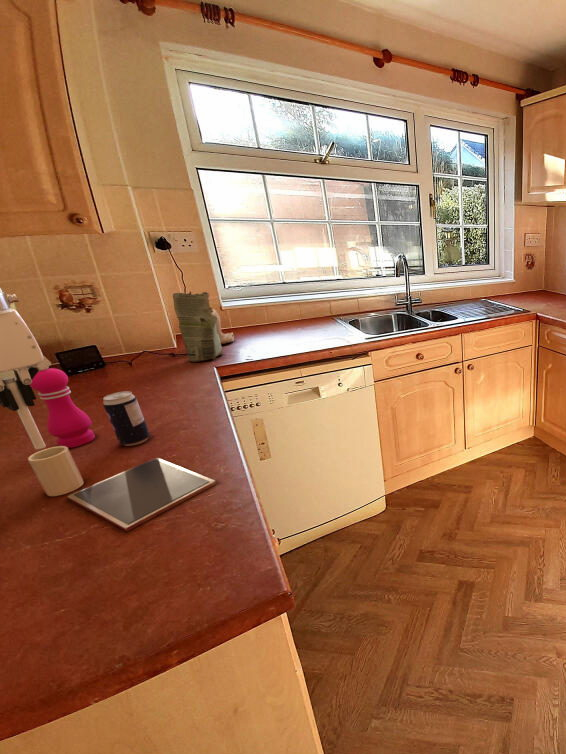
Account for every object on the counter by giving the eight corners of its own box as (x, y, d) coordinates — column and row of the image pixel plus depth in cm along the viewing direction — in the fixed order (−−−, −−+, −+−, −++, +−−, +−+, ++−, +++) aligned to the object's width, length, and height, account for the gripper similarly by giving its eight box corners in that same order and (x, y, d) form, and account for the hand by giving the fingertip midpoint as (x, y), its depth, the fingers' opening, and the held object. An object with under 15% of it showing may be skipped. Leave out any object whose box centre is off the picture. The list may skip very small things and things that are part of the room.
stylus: (37, 450, 79) (3, 380, 74) (33, 448, 79) (0, 379, 74) (47, 446, 80) (15, 377, 75) (44, 445, 81) (11, 376, 75)
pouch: (188, 357, 160) (166, 291, 150) (225, 351, 167) (206, 287, 157) (190, 365, 152) (167, 295, 142) (228, 358, 159) (209, 291, 149)
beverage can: (143, 433, 104) (126, 389, 100) (156, 438, 102) (138, 392, 97) (115, 444, 99) (95, 398, 95) (128, 449, 97) (108, 402, 92)
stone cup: (197, 352, 166) (185, 314, 161) (192, 346, 175) (180, 310, 169) (240, 344, 176) (230, 308, 170) (233, 338, 184) (224, 304, 178)
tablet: (126, 532, 72) (124, 527, 71) (68, 499, 80) (66, 495, 80) (216, 483, 84) (215, 480, 84) (158, 460, 93) (156, 456, 92)
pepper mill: (52, 444, 100) (14, 364, 93) (93, 431, 106) (59, 355, 98) (60, 452, 96) (20, 370, 89) (101, 439, 102) (67, 361, 94)
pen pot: (53, 499, 80) (35, 463, 77) (41, 492, 82) (22, 456, 79) (89, 483, 85) (72, 449, 82) (76, 477, 87) (60, 443, 84)
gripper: (29, 296, 78) (68, 389, 85) (-113, 313, 65) (-53, 420, 72) (47, 300, 75) (86, 395, 82) (-97, 317, 62) (-37, 429, 69)
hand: (21, 406), depth 77 cm, fingers closed on stylus, 1 cm apart
